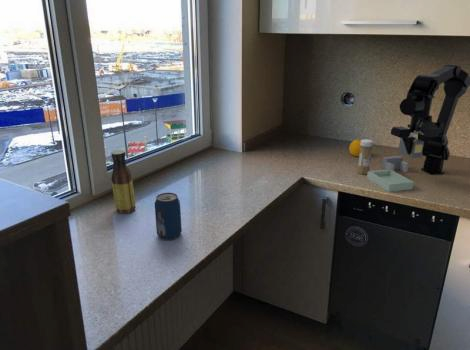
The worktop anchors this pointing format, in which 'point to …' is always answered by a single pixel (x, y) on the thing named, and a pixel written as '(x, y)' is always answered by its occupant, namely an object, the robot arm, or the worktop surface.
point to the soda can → (168, 216)
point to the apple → (355, 147)
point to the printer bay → (394, 163)
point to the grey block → (416, 148)
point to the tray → (390, 180)
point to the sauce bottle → (122, 183)
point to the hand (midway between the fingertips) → (413, 153)
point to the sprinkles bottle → (365, 156)
